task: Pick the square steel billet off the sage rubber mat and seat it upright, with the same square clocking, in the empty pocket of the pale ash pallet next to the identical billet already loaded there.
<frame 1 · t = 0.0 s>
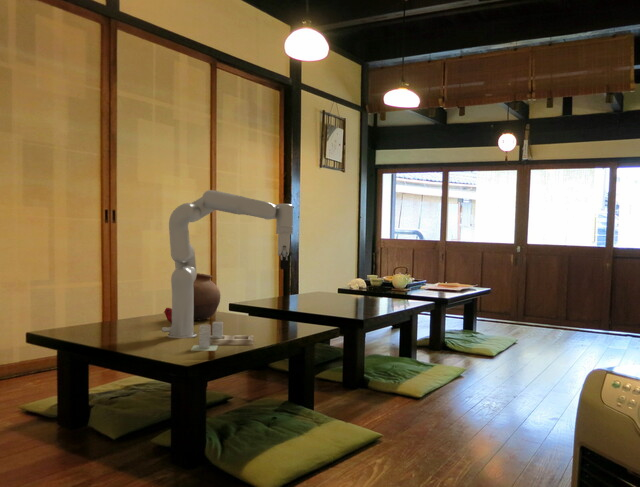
hand: (283, 268, 247), 31 cm above the table, fingers open, 9 cm apart
decorative bird figurine: (178, 326, 269), on the table
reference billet: (217, 343, 230), resting in pallet
pottery: (198, 320, 290), on the table
rubber mat: (204, 349, 219), on the table
pallet: (229, 343, 231), on the table
billet: (204, 347, 219), point 1 cm above the table, touching rubber mat
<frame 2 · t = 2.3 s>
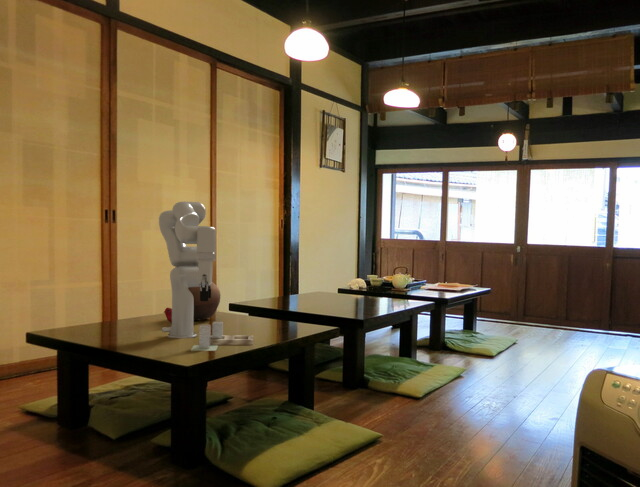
hand: (205, 299, 218), 20 cm above the table, fingers open, 9 cm apart
nothing on the table moved.
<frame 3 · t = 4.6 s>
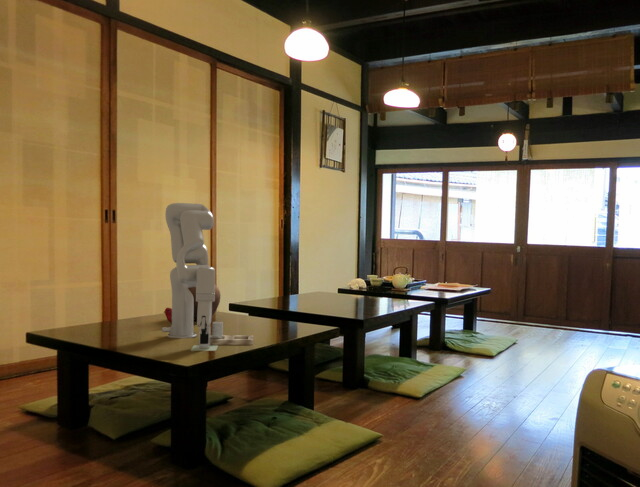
hand: (204, 342, 219), 3 cm above the table, fingers closed on billet, 4 cm apart
billet: (204, 347, 219), point 1 cm above the table, touching gripper, rubber mat
everything else where it was.
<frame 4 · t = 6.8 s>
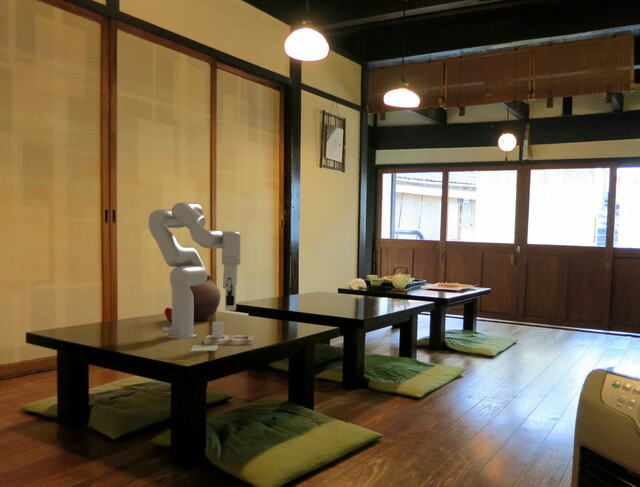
hand: (230, 304, 227), 17 cm above the table, fingers closed on billet, 4 cm apart
billet: (230, 309, 227), point 15 cm above the table, touching gripper
everything else where it was.
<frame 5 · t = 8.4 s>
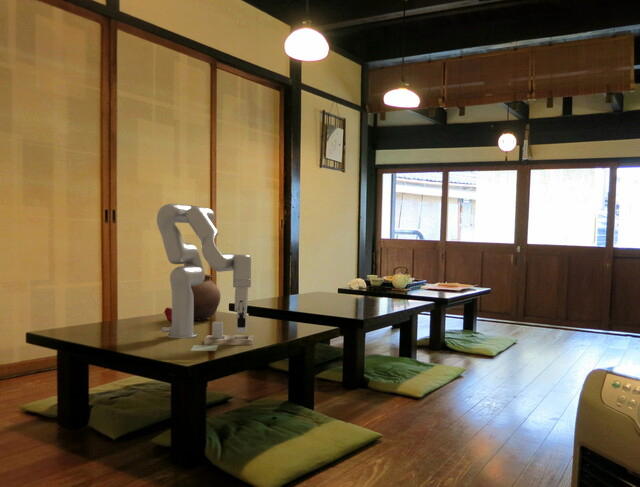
hand: (241, 326, 231), 8 cm above the table, fingers closed on billet, 4 cm apart
billet: (241, 331, 231), point 5 cm above the table, touching gripper
everything else where it was.
when the fingers open (4 cm above the table, at t = 9.4 s): billet drops 2 cm, resting in pallet.
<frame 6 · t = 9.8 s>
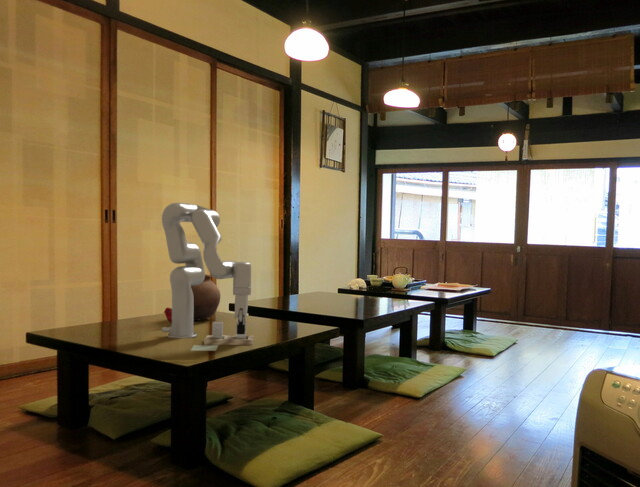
hand: (241, 331, 231), 5 cm above the table, fingers open, 8 cm apart
billet: (241, 343, 231), resting in pallet
everything else where it was.
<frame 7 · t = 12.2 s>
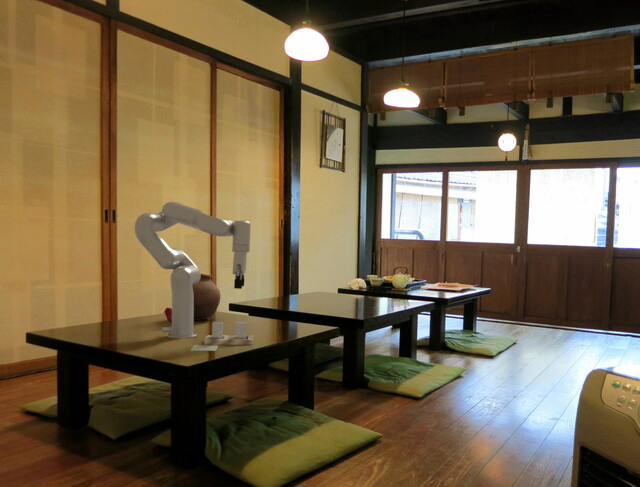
hand: (239, 287, 240), 23 cm above the table, fingers open, 9 cm apart
nothing on the table moved.
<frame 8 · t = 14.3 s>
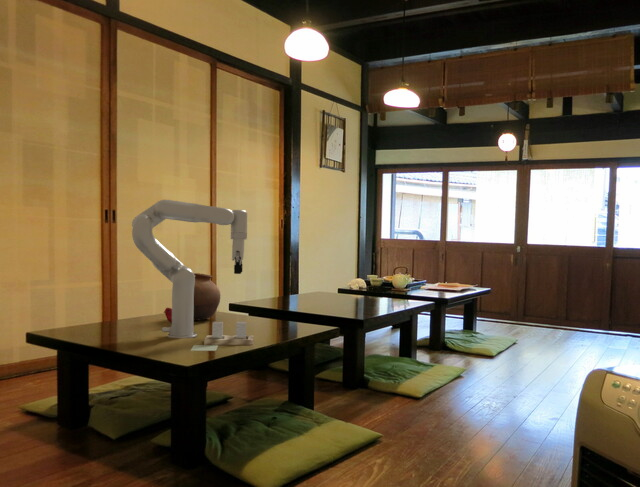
hand: (238, 272, 253), 28 cm above the table, fingers open, 9 cm apart
nothing on the table moved.
at the end: billet 0.1 cm from the target spot on the pallet, point 0.0 cm above the pallet's base; billet tilted 0°; the gripper is holding nothing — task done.
